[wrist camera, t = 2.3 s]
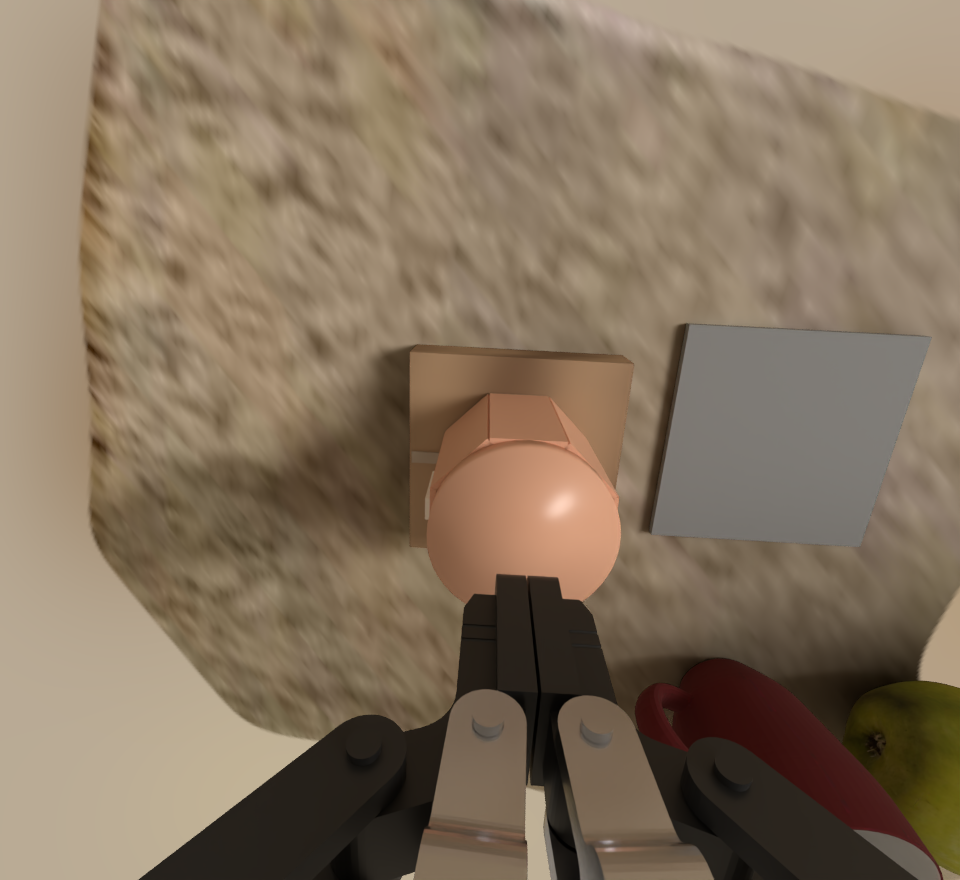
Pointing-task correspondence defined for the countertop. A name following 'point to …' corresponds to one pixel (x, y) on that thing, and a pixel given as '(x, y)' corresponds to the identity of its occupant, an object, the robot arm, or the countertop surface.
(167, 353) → the countertop surface
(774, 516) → the mat
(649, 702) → the mug
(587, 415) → the post block
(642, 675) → the countertop surface
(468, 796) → the robot arm
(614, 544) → the cap
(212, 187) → the countertop surface
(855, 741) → the apple
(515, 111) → the countertop surface
